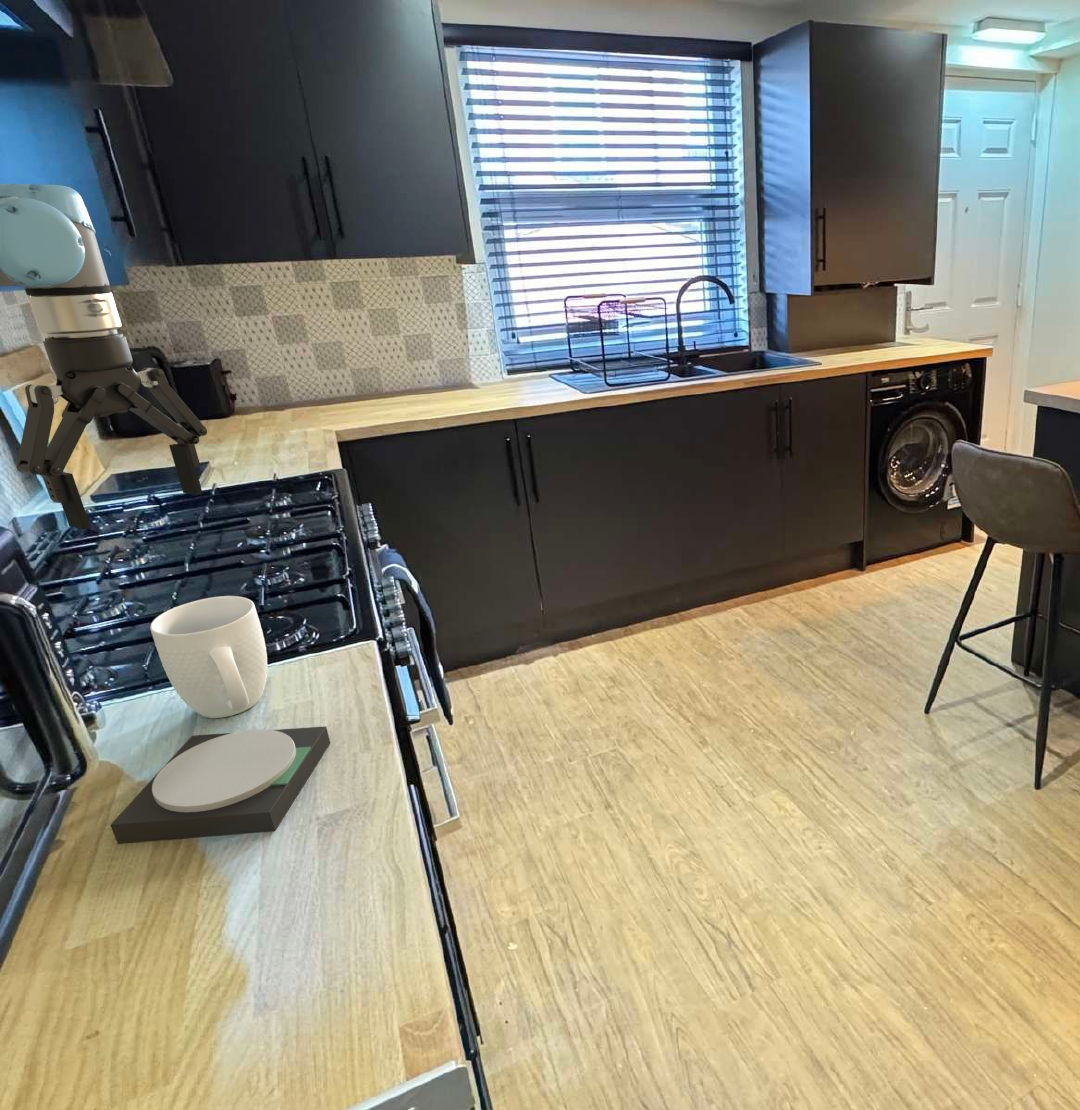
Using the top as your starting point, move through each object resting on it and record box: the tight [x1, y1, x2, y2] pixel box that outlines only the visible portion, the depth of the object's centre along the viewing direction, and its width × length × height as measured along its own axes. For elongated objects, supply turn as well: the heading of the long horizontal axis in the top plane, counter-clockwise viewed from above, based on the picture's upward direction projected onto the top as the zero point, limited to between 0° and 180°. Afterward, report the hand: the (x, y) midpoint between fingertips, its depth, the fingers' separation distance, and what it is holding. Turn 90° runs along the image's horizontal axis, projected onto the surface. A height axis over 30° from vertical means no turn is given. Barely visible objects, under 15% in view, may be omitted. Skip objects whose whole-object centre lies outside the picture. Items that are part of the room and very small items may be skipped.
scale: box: [110, 725, 331, 845], centre depth 85 cm, size 15×15×3 cm
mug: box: [149, 595, 268, 719], centre depth 97 cm, size 15×11×13 cm
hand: (140, 509), depth 97 cm, fingers open, 13 cm apart
